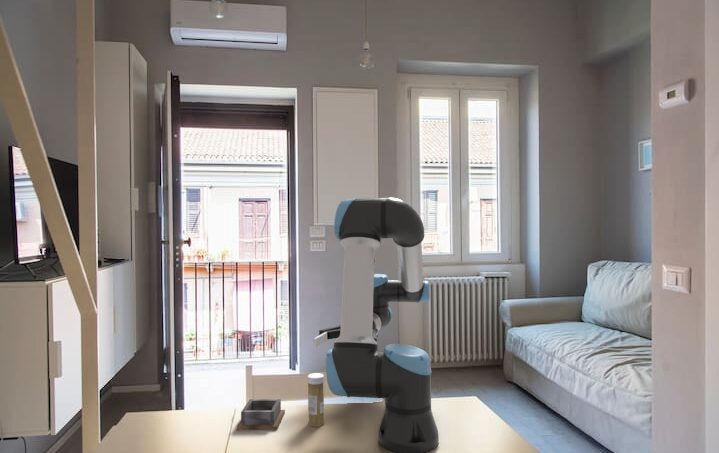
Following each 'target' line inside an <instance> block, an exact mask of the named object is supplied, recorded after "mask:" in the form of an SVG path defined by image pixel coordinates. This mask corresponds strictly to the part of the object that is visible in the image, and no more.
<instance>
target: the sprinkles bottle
mask: <svg viewBox="0 0 719 453" xmlns="http://www.w3.org/2000/svg"><path fill="white" fill-rule="evenodd" d="M324 382H325V375H324V373H319V372H315V373H310V374H308V375H307V387H308V388H307V390H308V391H307V392H308V393H307V400H308V402H307V406H308V408H307V409H308V410H307V411H308V423H307V424H308V425H309V426H310V427H314V428H315V427H321V426H323V425H324V424H325V400H324V396H325V395H324Z"/></svg>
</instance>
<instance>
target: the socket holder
mask: <svg viewBox="0 0 719 453" xmlns="http://www.w3.org/2000/svg"><path fill="white" fill-rule="evenodd" d="M281 401H282V400H281V398H274V399H273V398H272V399H271V398H268V399H267V398H261V399H260V398H256V399H255V398H250V399H249V400H248V402H247V403H246V404H245V406H244V407H243V409H242V410H241V412H240V420H239V422H238V424H237V425H236V429H235V430H236V431H278V429H279V427H280V425H281V422H282V421H283V418H284V416H285V414H286V410H285V409H282V406H281V405H282V402H281Z"/></svg>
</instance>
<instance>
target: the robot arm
mask: <svg viewBox="0 0 719 453" xmlns="http://www.w3.org/2000/svg"><path fill="white" fill-rule="evenodd" d="M333 224H334V228H333V229H334V236H335V238H336V239H338V240H339V245H341V247H342V248H343V249H344V258H343V275H342V276H343V277H342V290H341V291H342V294H341V295H342V296H341V315H340V324H339V325H336V326H331V327H327V328H324V329H319V330H318V333H319V334H318V336H315V337H314V338H313V348H317V347H319V346H321V345H323V344H324V343H325V344H326V343H327V342H328V340H332V339H335V340H334V341H333V348H332V347H331V348H329V349H328V350H327V352H326V357H325V374H326V382H327V385H328V386H327V387H328V388H329V390H330V392H331V393H332V394H333V395H335V396H339V397H346V398H367V399H368V398H369V399H373V398H374V399H384V400H385V403H384V404H385V405H384V408H385V409H384V412H383V415H382V417H381V418H382V419H381V422H380V424H379V427H378V442H379V444H380V445H381V446H382V447H384V448H385V449H387V450H389V451H390V452H394V453H428V452H430V451H432V450H434V449H436V447H437V446H438V445H439V439H440V438H439V430H438V427H437V424H436V421H435V417H434V415H433V412H432V384H431V381H432V380H431V379H432V378H431V375H432V372H433V371H432V369H431V358H430V355H429V353H428V352H426V351H425V349H422V348H420V347H418V346H414V345H409V344H405V343H404V344H403V343H389V344H387V345H385V347H384V349H383V350H378V348H379V347H378V337H379V331H381V330H382V329H384V328H387V326H388V325H389V324H390V323H391V322H392V320H393V317H394V314H393V310H392V309H391V307H390V306H389V302H390V303H393V302H394V303H417V304H418V303H428V302H429V301H430V295H431V294H430V291H431V290H430V289H431V288H430V282H429V281H428V280H424V269H423V268H424V267H423V251H422V250H423V249H422V248H423V247H422V246H423V245H422V242H423V241H424V239H425V226H424V223H423V221H422V219H421V217H420V215H419V213H418V212H417V211H416V210H415V208H413V207H412V206H411V205H410V204H409V203H407V202H406V201H404V200H401V199H399V198H397V197H377V198H376V197H373V198H372V197H367V198H365V197H364V198H358V197H354V198H347V199H343V200H341V202H340V203H339V204H338V206H337V208H336V211H335V216H334V223H333ZM382 239H392V241H393V242H394V244H395V245H396V249H397V250H396V252H397V259H398V266H399V274H400V280H398V279H397V280H392V279H391V280H390V279H389V277H388V275H387V274H384V273H383V274H382V273H375V258H376V254H375V253H376V250H377V249H378V248H379V247H380V246H381V240H382Z"/></svg>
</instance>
